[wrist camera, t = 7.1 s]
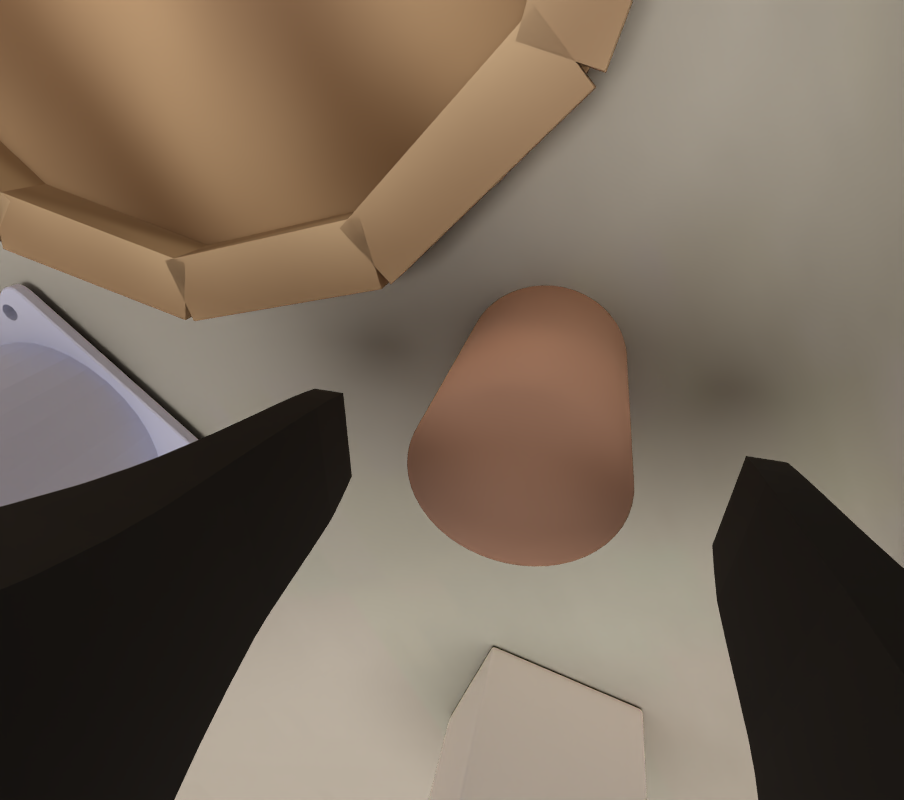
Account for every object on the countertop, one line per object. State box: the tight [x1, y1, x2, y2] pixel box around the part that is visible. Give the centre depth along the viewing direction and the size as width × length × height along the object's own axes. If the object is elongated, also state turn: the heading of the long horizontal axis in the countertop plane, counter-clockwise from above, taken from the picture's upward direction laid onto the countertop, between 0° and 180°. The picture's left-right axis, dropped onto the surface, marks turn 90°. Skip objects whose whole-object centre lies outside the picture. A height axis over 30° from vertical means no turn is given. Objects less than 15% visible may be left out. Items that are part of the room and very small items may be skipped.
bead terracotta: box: [407, 285, 634, 566], centre depth 11 cm, size 4×4×5 cm
